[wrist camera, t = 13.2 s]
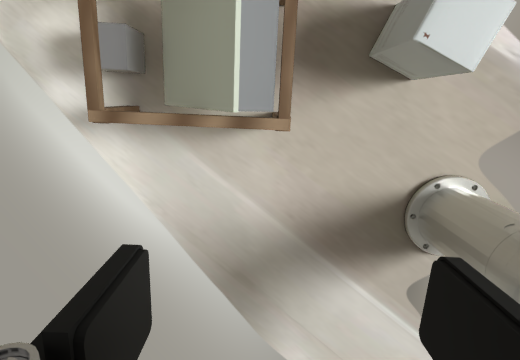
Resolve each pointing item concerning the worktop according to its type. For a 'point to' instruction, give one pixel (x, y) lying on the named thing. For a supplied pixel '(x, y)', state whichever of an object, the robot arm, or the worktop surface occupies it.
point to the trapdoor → (220, 54)
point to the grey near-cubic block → (121, 48)
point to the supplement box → (439, 36)
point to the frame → (134, 116)
